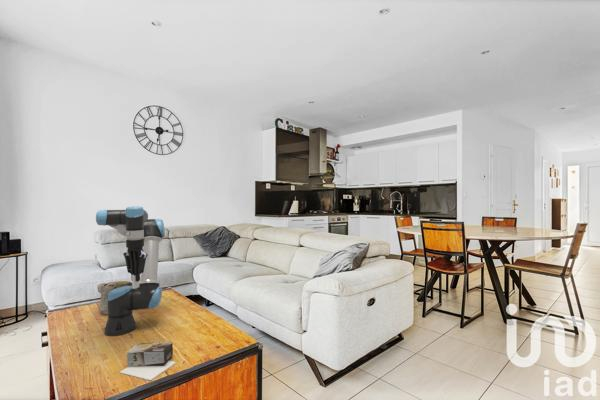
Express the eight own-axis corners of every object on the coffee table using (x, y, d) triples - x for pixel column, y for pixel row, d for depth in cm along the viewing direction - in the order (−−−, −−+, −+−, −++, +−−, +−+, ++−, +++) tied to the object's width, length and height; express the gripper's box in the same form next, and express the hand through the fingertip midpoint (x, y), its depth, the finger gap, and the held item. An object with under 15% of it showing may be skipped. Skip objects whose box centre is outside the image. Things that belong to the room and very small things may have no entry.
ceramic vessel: (124, 289, 217) (135, 264, 208) (137, 316, 206) (149, 291, 197) (88, 297, 198) (98, 270, 190) (100, 327, 187) (112, 300, 179)
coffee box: (126, 367, 129) (164, 366, 129) (126, 352, 129) (163, 351, 129) (138, 356, 138) (173, 355, 138) (138, 342, 138) (172, 341, 138)
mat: (119, 372, 125) (119, 372, 125) (146, 356, 138) (146, 355, 138) (150, 381, 120) (150, 380, 120) (176, 363, 133) (176, 362, 133)
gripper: (117, 239, 142) (118, 288, 143) (138, 240, 138) (139, 291, 139) (131, 236, 149) (132, 283, 150) (152, 238, 145) (152, 286, 146)
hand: (135, 287), depth 144 cm, fingers closed
